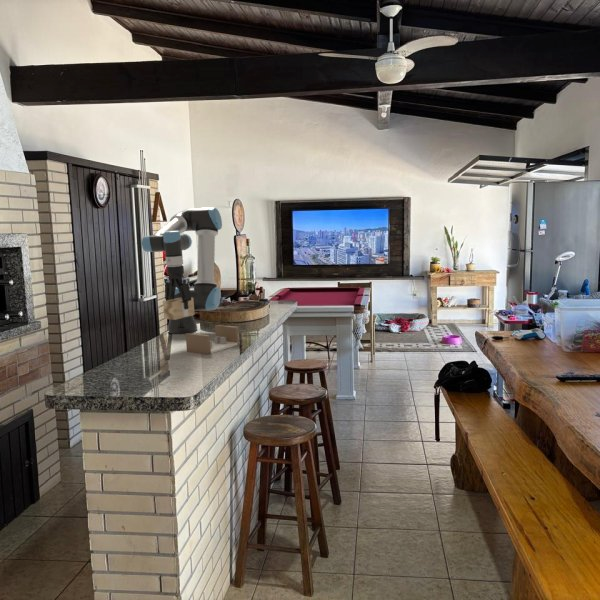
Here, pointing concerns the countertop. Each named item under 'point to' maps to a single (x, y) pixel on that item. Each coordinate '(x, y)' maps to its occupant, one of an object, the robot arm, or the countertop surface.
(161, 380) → the countertop surface
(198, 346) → the peg stand
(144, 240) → the robot arm
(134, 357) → the countertop surface
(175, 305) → the shelf block
